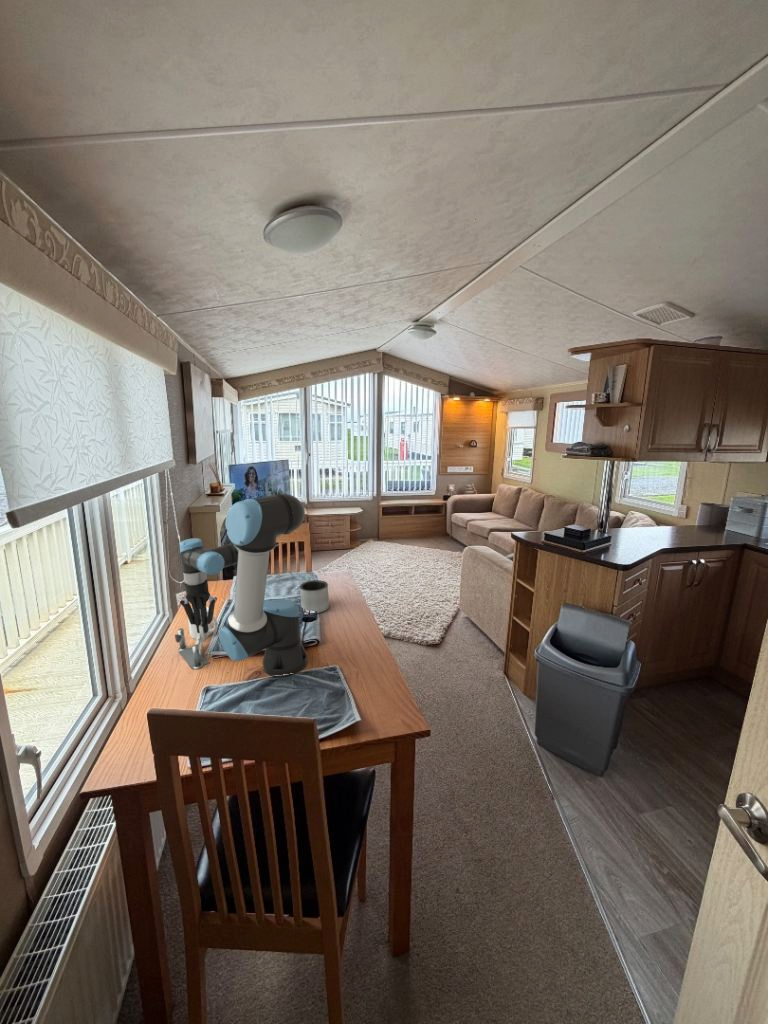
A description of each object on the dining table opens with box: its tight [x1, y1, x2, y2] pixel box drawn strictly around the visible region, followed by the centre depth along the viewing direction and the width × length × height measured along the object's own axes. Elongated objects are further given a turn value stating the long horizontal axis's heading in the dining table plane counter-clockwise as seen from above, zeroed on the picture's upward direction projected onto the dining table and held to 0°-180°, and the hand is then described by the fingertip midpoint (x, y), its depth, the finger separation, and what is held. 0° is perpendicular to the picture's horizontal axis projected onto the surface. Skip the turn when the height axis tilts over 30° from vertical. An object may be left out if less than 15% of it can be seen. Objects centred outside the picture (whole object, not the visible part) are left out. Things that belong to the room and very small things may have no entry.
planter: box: [299, 579, 330, 614], centre depth 189 cm, size 13×12×11 cm
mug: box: [186, 606, 218, 640], centre depth 168 cm, size 12×8×10 cm
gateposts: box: [174, 627, 204, 670], centre depth 152 cm, size 19×4×8 cm, turn 42°
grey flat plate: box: [178, 646, 211, 670], centre depth 153 cm, size 15×6×1 cm, turn 42°
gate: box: [194, 633, 204, 656], centre depth 154 cm, size 12×1×7 cm, turn 18°
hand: (204, 640), depth 157 cm, fingers closed
